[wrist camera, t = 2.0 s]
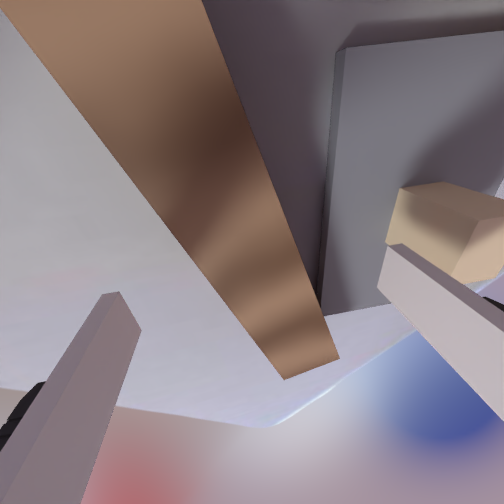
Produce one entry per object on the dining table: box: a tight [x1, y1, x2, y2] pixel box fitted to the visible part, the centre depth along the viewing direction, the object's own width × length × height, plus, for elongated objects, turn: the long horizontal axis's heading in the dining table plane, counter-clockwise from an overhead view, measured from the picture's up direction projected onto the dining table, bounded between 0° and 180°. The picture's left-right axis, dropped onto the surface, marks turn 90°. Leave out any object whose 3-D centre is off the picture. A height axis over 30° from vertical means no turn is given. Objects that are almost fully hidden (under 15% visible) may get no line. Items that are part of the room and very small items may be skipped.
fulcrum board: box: [316, 30, 504, 316], centre depth 13 cm, size 18×12×6 cm, turn 6°
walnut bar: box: [0, 0, 340, 380], centre depth 14 cm, size 24×5×4 cm, turn 24°
